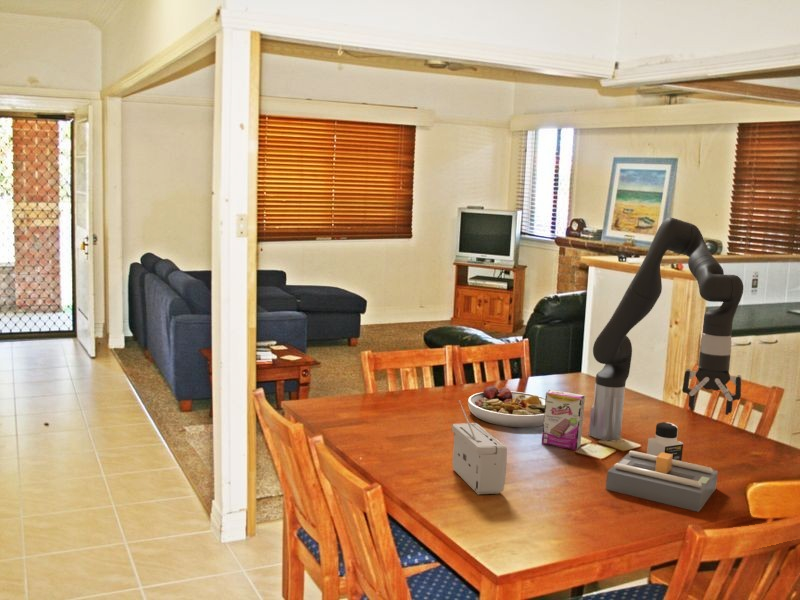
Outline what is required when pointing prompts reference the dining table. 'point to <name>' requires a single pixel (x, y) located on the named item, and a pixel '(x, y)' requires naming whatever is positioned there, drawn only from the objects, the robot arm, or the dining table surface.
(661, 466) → the orange block
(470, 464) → the stereo radio cassette player
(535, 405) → the bowl
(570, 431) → the candy bar box
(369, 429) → the dining table surface
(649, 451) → the medicine bottle
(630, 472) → the grey rail box
